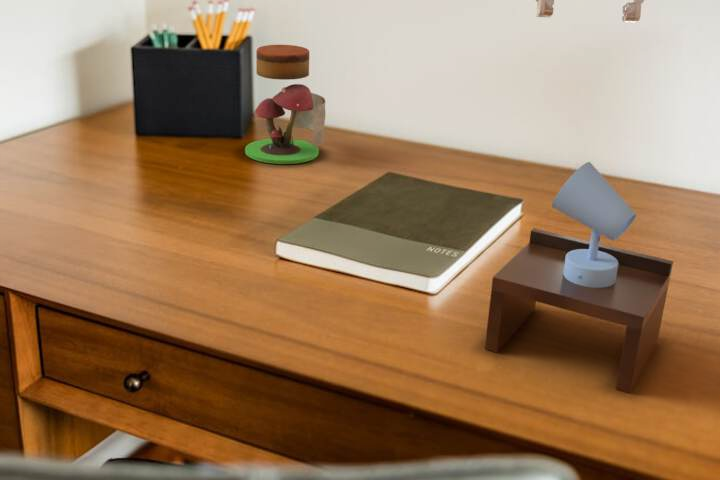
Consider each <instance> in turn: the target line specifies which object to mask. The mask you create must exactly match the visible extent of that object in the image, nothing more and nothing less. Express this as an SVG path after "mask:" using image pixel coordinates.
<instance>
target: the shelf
mask: <svg viewBox="0 0 720 480" xmlns="http://www.w3.org/2000/svg"><path fill="white" fill-rule="evenodd" d="M589 246H590V240H585V239H581V238H577V237H573V236H569V235H565V234H560V233H556V232H551V231H547V230H543V229H538V228H532V229H531V230H530V235H529V242H528V243H527V244H526V245H525V246H524V247H523V248H522V249H521V250H519V252H517V253H516V254H515V256H513V257H512V258H511V259H510V260H509V261H508V262H506V264H505V265H503V267H502V268H501V269H499V270H498V272H496V274H494V275H493V276H492V280H491V281H492V282H491V289H490V299H489V307H488V317H487V325H486V334H485V342H484V343H485V344H484V349H485V351H490V352H492V353H495V354H496V353H498V352H499V351H500V350H501V349H502V348H503V347H504V346H505V344H506V343H507V342H508V341H509V340H510V339H511V338H512V336H514V334H515V333H516V332H517V331H518V330H519V329H520V327H521V326H522V325H523V324H524V323H525V322H526V321H527V319H528V318H529V317H530V316H531V314H533V312H534V311H535V310H536V303H541V304H544V305H547V306H552V307H555V308H559V309H562V310H565V311H566V310H567V311H571V312H574V313H577V314H580V315H581V314H582V315H584V316H588V317H592V318H596V319H600V320H603V321H607V322H609V323H610V322H611V323H614V324H618V325H621V326H626V329H625V334H624V339H623V345H622V350H621V356H620V363H619V367H618V372H617V377H616V384H615V390H617V391H621V392H623V393H627V394H630V393H631V391H632V389H633V388H634V385H636V382H637V380H638V378H639V376H640V375H641V373H642V371H643V369H644V367H645V366H646V364H647V362H648V360H649V359H650V356H652V353H653V351H654V350H655V348H656V346H657V344H658V341H659V335H660V330H661V325H662V320H663V314H664V309H665V305H666V299H667V295H668V290H669V285H670V279H671V276H672V270H673V269H672V268H673V265H674V261H673V260H670V259H665V258H662V257H657V256H654V255H648V254H645V253H640V252H636V251H632V250H627V249H624V248H619V247H616V246H615V247H614V246H611V245H607V244H602V243H599V247H598V251H602V252H605V253H607V254H610V255H612V256H613V257H615V258H616V259H617V261H618V269H617V275H616V281H615V283H614V284H613V285H611V286H608V287H603V288H592V287H585V286H581V285H577V284H575V283H573V282H571V281H569V280H567V279H566V278H565V277H564V275H563V271H564V264H565V258H566V254H567V253H568V252H570V251H572V250H577V249H589Z"/></svg>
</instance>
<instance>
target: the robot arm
mask: <svg viewBox="0 0 720 480" xmlns="http://www.w3.org/2000/svg"><path fill="white" fill-rule="evenodd" d="M535 1H536V17H537V18H552V16H553V14H554V7H553V6H554V5H555V0H535ZM644 1H645V0H633V2H626V4H624V5H623V6H622V14H623V15H622V16H621V17H622V18H621V19H622V23H632V24H633V23H635V24H636V23H637V22H639V21H640V19H641V13H642V4H643V3H644Z"/></svg>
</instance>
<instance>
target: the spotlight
mask: <svg viewBox="0 0 720 480" xmlns="http://www.w3.org/2000/svg"><path fill="white" fill-rule="evenodd" d="M551 207H552V208H553V209H555V210H557V211H558V212H561V213H562V214H564V215H566V216H568V217H569V218H571V219H574V220H575V221H576V222H578V223H581V224H582V225H583V226H586V227H587V228H589V229H592V231H591V233H590V239H589V241H590V246H589V249H577V250H572V251H570V252H568V253H567V254H566V258H565V264H564V271H563V275H564V277H565V278H566V279H567V280H569V281H571V282H573V283H575V284H577V285H581V286H585V287H592V288H603V287H608V286H611V285H613V284H614V283H615V281H616V275H617V269H618V261H617V259H616V258H615V257H613V256H612V255H610V254H607V253H605V252H602V251H598V247H599V244H600V240H601V236H604V237H605V238H607V239H609V240H611V241H612V242H613V241H614V242H615V241H616V240H618V239H619V238H620V237H621V236H622V235H623V234H624V233H625V232H626V231H627V230H628V229H629V227H630V226H631V225H632V223H633V222H634V221H635V219H636V217H637V213H636V212H635V211H634V210H633V209H632V208H631V206H629V204H628V203H627V202H626V200H624V199H623V197H622V196H621V195H620V194H619V193H618V192H617V190H616V189H615V188H614V187H613V186H612V185H611V184H610V183H609V182H608V181H607V179H606V178H605V177H604V176H603V175H602V173H600V172H599V169H597V167H595V166H594V165H593V164H592V163H591V162H590V161H588V162H585V163H584V164H582V165H581V166H579V168H578V169H576V170H575V171H574V172H573V173H572V174H571V175H570V176H569V178H568V179H567V180H566V181H565V182H564V184H562V186H561V188H560V189H559V190H558V192H557V193H556V195H555V196H554V199H553V200H552V203H551Z"/></svg>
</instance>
